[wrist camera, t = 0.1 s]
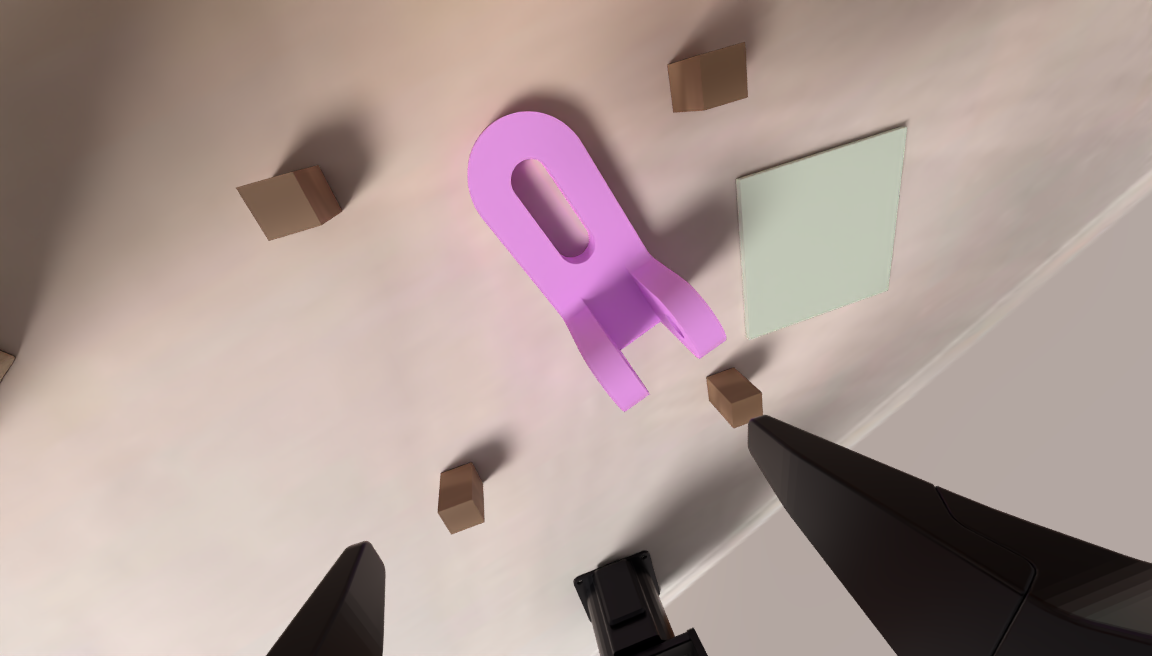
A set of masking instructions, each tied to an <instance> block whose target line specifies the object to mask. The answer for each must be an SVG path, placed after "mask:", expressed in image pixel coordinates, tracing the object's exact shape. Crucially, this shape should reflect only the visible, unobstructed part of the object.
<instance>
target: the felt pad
mask: <svg viewBox="0 0 1152 656" xmlns="http://www.w3.org/2000/svg"><path fill="white" fill-rule="evenodd" d="M906 133H907V127H898V128H895V129H892V130H889V131H886V132H883V133H879V134H876V135H873V136H870V137H867V138H864V139H861V140H857V141H854V142H851V143H848V144H845V145H842V146H839V147H835V148H832V149H829V150H826V151H823V152H820V153H816V154H813V155H810V156H807V157H804V158H801V159H798V160H794V161H791V162H788V163H785V164H782V165H779V166H776V167H772V168H769V169H766V170H763V171H760V172H757V173H754V174H750V175H747V176H744V177H741V178H738V179H736V190H737V206H738V221H739V237H740V252H741V267H742V283H743V298H744V314H745V329H746V338H748V339H749V340H751V339H754V338H757V337H759V336H762V335H765V334H768V333H771V332H773V331H776V330H779V329H782V328H785V327H787V326H790V325H793V324H796V323H799V322H801V321H804V320H807V319H810V318H813V317H816V316H818V315H821V314H824V313H827V312H830V311H832V310H835V309H838V308H841V307H844V306H846V305H849V304H852V303H855V302H858V301H860V300H863V299H866V298H869V297H872V296H874V295H877V294H880V293H883V292H886V291H888V287H889V278H890V270H891V261H892V253H893V244H894V236H895V227H896V219H897V210H898V202H899V193H900V185H901V176H902V167H903V159H904V150H905V142H906Z"/></svg>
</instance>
